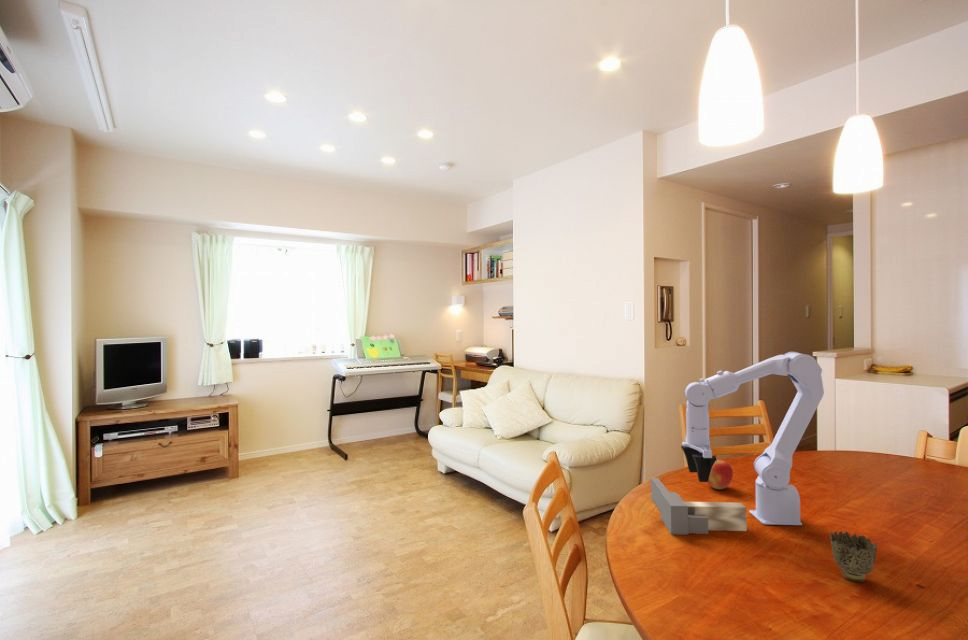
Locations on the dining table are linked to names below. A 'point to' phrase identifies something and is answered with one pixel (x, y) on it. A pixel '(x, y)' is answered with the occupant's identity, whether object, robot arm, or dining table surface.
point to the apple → (720, 475)
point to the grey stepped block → (676, 511)
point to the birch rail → (721, 515)
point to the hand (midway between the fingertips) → (698, 476)
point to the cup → (853, 555)
